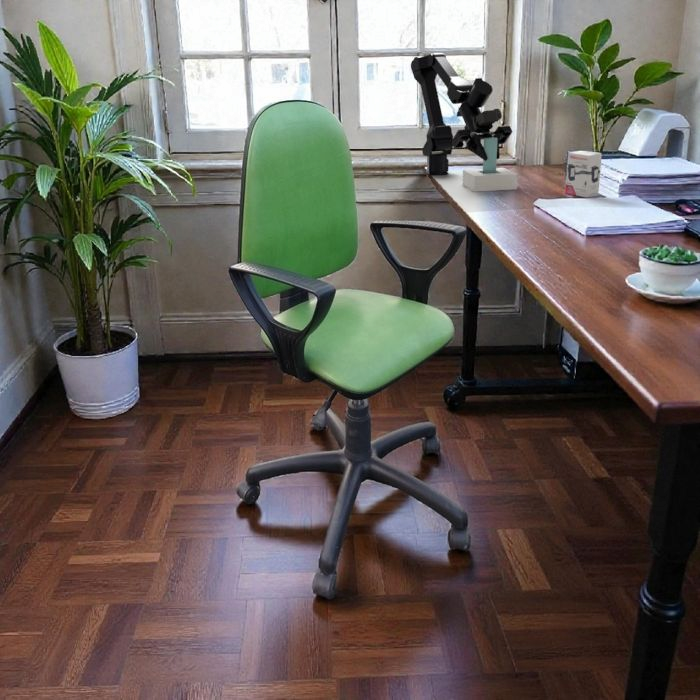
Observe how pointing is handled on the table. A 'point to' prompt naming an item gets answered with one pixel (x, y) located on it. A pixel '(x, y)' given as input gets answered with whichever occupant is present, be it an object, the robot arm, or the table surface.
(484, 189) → the socket block
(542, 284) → the table surface
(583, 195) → the ink box
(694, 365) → the table surface
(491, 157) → the pin
